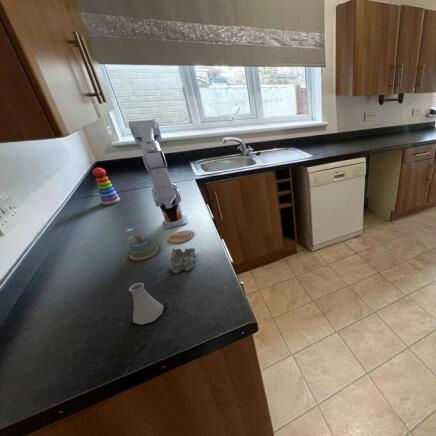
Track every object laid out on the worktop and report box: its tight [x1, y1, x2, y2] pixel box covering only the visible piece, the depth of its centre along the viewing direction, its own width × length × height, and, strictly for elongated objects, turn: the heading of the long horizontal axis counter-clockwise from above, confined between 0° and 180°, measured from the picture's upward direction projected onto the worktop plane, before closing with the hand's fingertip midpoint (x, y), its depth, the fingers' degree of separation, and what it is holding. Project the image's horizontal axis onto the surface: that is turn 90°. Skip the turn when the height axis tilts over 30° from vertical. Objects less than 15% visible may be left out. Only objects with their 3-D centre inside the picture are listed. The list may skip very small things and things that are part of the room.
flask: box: [128, 282, 165, 326], centre depth 71 cm, size 7×7×10 cm
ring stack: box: [128, 233, 160, 262], centre depth 98 cm, size 9×9×8 cm
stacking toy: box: [92, 167, 121, 206], centre depth 138 cm, size 8×8×19 cm
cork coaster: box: [168, 230, 195, 244], centre depth 109 cm, size 9×9×1 cm
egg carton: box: [168, 247, 196, 274], centre depth 93 cm, size 11×8×4 cm
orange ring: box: [163, 211, 182, 222], centre depth 104 cm, size 5×5×2 cm
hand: (173, 218), depth 105 cm, fingers closed on orange ring, 5 cm apart
